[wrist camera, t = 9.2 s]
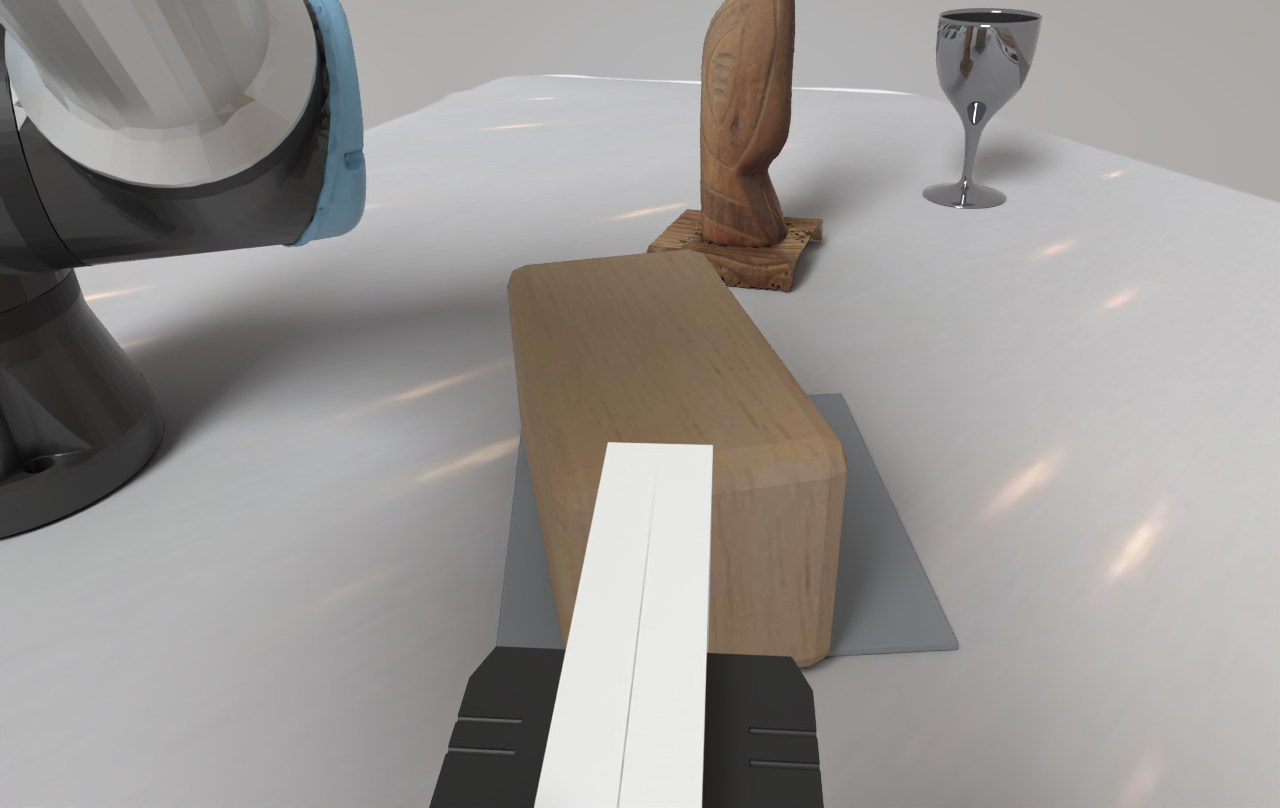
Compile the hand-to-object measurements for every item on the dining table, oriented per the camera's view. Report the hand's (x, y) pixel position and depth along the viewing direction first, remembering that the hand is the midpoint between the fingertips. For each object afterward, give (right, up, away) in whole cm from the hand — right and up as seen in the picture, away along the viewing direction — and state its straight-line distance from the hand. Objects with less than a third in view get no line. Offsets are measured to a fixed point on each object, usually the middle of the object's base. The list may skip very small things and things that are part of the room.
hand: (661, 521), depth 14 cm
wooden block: (+2, -5, +19) cm, 19 cm away
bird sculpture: (+7, +13, +60) cm, 62 cm away
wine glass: (+28, +20, +72) cm, 80 cm away
